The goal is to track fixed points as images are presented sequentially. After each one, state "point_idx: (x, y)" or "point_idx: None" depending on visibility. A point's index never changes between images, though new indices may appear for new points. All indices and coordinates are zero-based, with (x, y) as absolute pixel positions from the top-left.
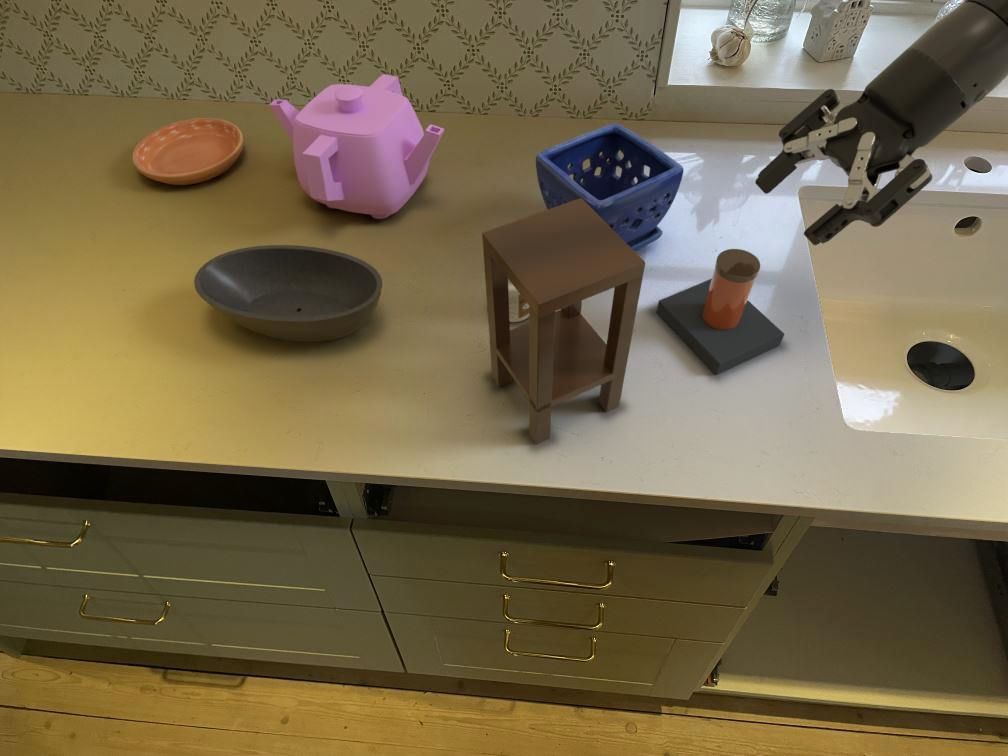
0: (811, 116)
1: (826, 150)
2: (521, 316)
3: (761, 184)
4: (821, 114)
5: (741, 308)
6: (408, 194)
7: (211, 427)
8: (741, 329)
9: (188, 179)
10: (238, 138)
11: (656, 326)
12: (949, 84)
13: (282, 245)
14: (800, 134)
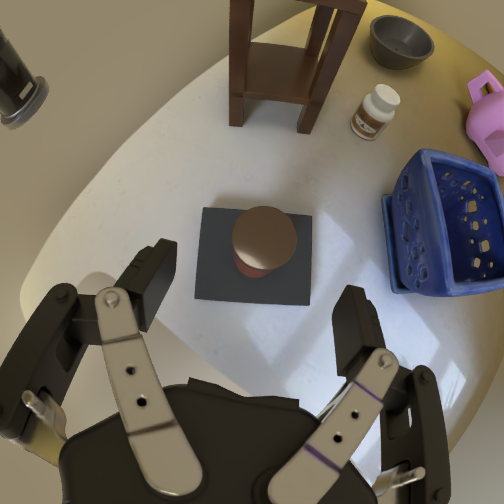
0: (420, 441)
1: (297, 404)
2: (352, 119)
3: (347, 290)
4: (407, 467)
5: (233, 252)
6: (479, 140)
7: (334, 11)
8: (226, 262)
9: (488, 85)
10: None
11: (290, 209)
12: None
13: (433, 50)
14: (400, 421)
